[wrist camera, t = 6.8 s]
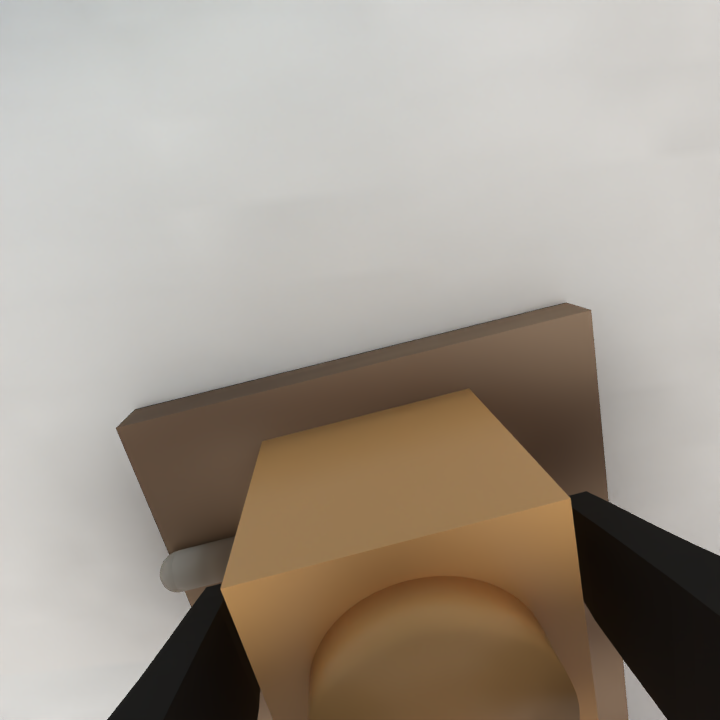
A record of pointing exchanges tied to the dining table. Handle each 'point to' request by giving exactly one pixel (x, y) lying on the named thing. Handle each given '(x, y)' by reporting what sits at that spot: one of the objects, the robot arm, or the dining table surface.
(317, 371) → the junction board
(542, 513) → the cube with round boss
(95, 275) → the dining table surface
